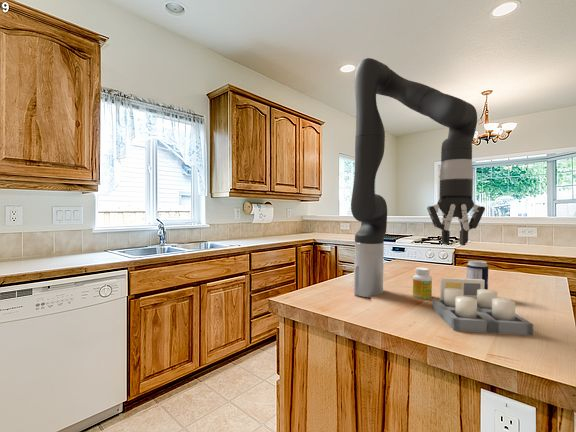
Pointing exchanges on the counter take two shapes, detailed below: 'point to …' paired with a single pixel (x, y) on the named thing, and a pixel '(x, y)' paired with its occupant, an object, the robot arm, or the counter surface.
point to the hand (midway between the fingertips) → (454, 244)
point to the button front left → (466, 307)
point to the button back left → (451, 296)
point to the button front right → (503, 309)
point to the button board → (484, 316)
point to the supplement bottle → (422, 284)
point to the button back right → (485, 298)
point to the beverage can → (478, 271)
